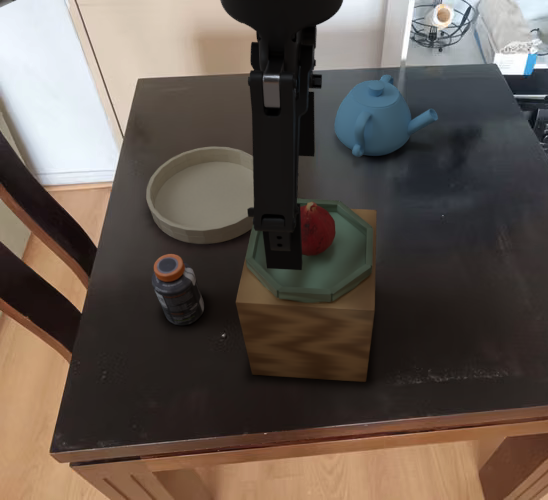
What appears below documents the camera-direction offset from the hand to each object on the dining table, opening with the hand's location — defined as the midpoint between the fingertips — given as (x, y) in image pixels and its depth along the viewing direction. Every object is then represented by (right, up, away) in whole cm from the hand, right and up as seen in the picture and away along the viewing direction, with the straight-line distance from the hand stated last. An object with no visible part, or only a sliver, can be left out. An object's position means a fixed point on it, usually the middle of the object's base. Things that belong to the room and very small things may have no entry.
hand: (293, 204), depth 46 cm
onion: (+1, -4, +20) cm, 20 cm away
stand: (+1, -16, +34) cm, 37 cm away
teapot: (+14, +18, +62) cm, 66 cm away
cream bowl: (-19, +5, +51) cm, 55 cm away
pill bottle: (-19, -13, +36) cm, 43 cm away
